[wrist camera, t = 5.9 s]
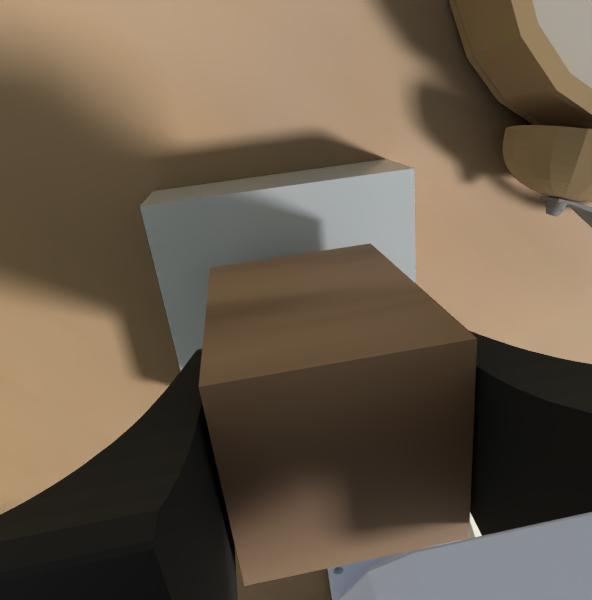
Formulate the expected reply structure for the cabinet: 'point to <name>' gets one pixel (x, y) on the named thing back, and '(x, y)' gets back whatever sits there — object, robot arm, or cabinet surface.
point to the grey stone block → (272, 228)
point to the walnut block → (335, 411)
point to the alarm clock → (538, 89)
